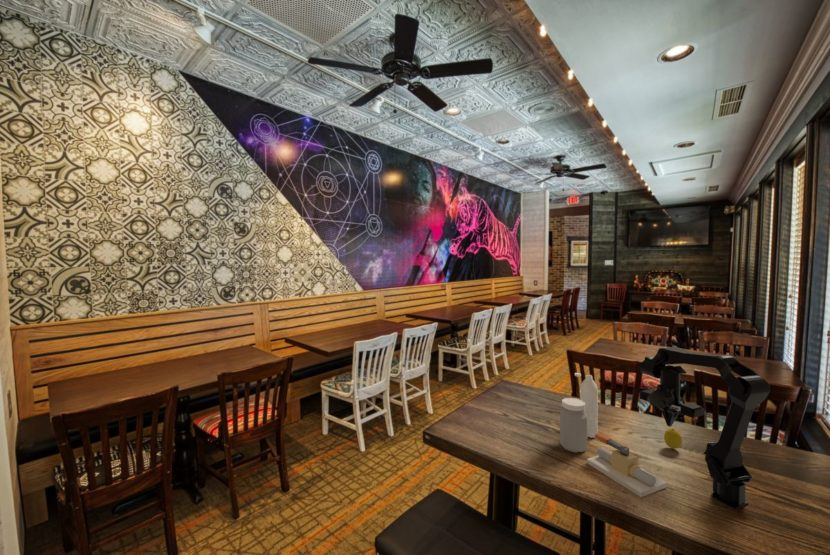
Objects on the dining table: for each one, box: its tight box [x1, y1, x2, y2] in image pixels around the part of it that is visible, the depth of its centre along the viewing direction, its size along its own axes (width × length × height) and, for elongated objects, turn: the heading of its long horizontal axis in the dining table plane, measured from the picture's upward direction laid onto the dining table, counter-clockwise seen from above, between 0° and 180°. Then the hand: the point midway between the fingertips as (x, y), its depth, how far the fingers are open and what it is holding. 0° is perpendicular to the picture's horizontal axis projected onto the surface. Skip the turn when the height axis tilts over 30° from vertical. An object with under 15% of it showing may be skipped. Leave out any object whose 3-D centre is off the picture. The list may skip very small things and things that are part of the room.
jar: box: [559, 397, 588, 454], centre depth 136 cm, size 10×10×18 cm
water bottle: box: [574, 372, 599, 439], centre depth 147 cm, size 9×6×25 cm
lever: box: [594, 432, 630, 456], centre depth 123 cm, size 12×3×2 cm, turn 21°
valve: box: [586, 446, 668, 498], centre depth 119 cm, size 20×12×7 cm, turn 22°
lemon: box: [663, 427, 683, 450], centre depth 134 cm, size 6×6×8 cm
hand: (669, 426), depth 125 cm, fingers closed
